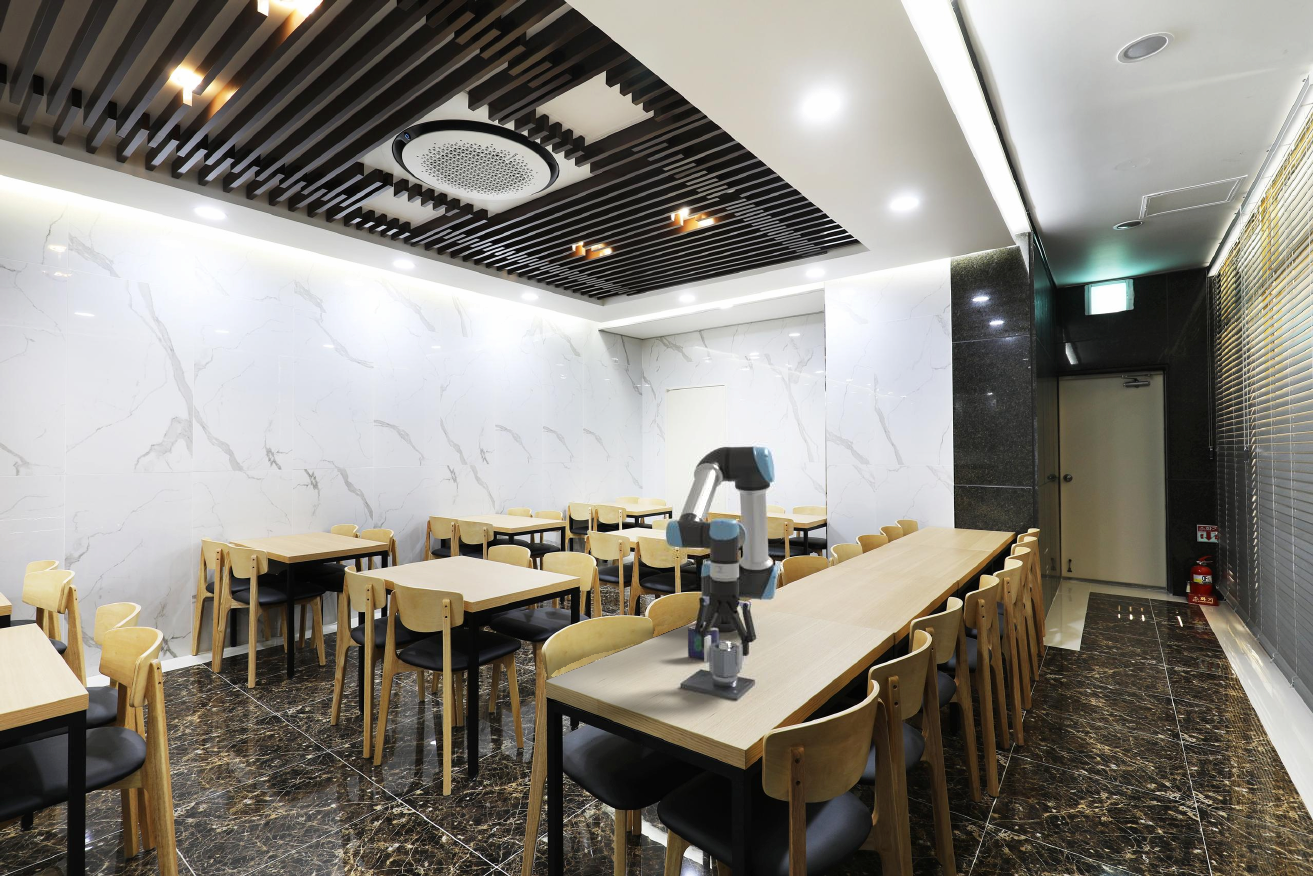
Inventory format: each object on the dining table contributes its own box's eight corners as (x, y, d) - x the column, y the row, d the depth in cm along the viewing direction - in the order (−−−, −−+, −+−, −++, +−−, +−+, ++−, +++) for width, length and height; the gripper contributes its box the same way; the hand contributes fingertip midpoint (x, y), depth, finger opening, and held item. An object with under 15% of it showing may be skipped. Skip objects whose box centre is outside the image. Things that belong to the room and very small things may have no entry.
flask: (719, 657, 184) (718, 621, 184) (717, 661, 181) (717, 624, 181) (688, 655, 186) (688, 620, 186) (687, 659, 183) (686, 622, 183)
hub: (717, 664, 166) (717, 640, 166) (743, 669, 162) (743, 644, 162) (705, 673, 159) (705, 648, 159) (732, 678, 156) (732, 652, 156)
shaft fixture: (700, 673, 171) (700, 630, 171) (755, 684, 163) (754, 638, 163) (680, 688, 160) (680, 641, 161) (737, 700, 152) (737, 651, 153)
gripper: (680, 576, 163) (681, 661, 163) (758, 585, 153) (759, 676, 152) (693, 571, 170) (693, 653, 169) (769, 579, 159) (769, 667, 159)
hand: (724, 664), depth 161 cm, fingers open, 9 cm apart
